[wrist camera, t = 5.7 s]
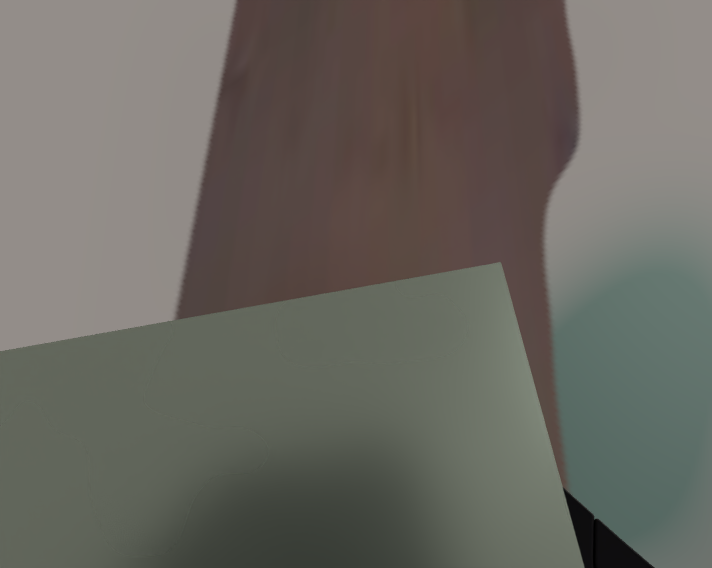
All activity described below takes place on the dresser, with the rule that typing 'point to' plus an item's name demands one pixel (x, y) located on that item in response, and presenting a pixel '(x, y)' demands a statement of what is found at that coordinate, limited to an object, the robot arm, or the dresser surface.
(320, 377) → the green lidded box
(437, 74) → the dresser surface
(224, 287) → the dresser surface
